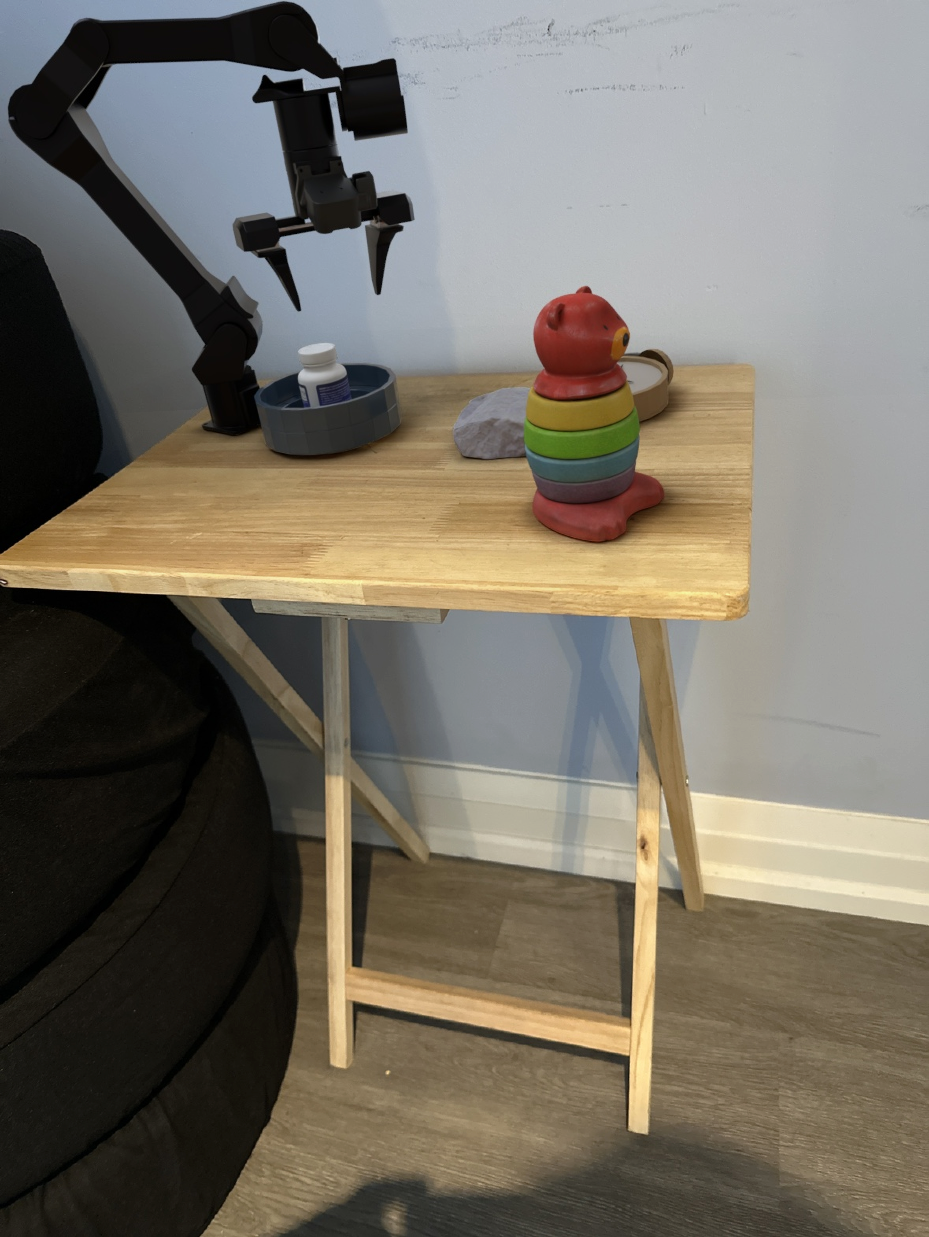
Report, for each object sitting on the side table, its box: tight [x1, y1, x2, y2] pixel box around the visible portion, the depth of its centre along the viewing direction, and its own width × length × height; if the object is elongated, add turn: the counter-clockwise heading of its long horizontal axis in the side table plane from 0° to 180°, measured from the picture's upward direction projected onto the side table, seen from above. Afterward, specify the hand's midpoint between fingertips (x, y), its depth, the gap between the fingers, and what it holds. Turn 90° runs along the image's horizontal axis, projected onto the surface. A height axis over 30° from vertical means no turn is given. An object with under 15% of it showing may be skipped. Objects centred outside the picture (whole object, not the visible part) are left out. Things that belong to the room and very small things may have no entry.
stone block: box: [452, 386, 531, 460], centre depth 95 cm, size 12×5×10 cm
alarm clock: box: [617, 348, 674, 422], centre depth 99 cm, size 11×5×15 cm
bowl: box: [254, 362, 403, 456], centre depth 101 cm, size 15×15×6 cm
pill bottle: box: [297, 342, 352, 408], centre depth 100 cm, size 5×5×9 cm
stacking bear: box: [524, 285, 665, 542], centre depth 74 cm, size 11×10×18 cm
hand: (338, 302), depth 104 cm, fingers open, 9 cm apart
